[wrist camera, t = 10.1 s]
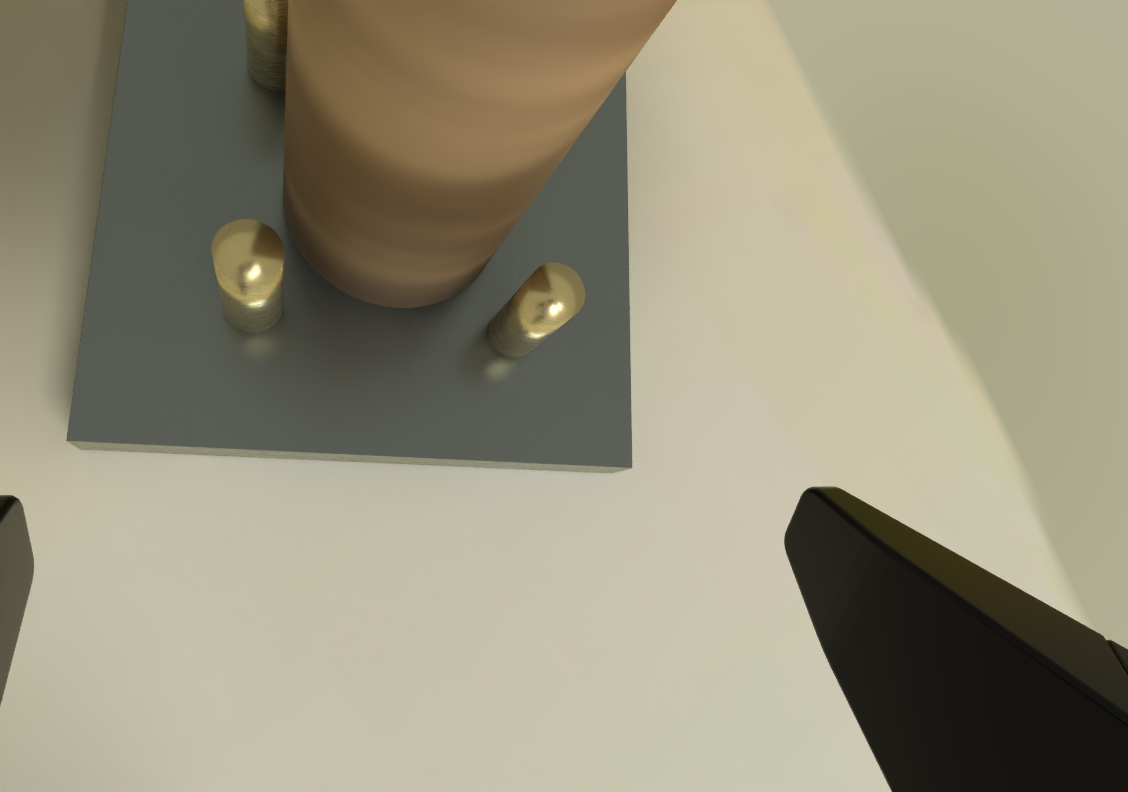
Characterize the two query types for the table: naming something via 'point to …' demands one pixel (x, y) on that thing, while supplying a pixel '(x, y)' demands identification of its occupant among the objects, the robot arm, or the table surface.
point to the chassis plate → (330, 288)
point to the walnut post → (437, 128)
